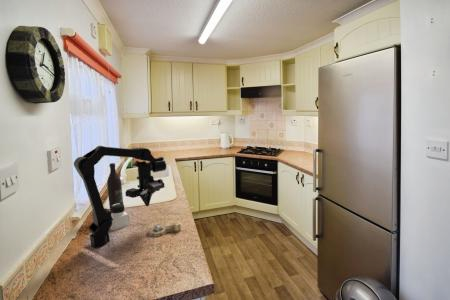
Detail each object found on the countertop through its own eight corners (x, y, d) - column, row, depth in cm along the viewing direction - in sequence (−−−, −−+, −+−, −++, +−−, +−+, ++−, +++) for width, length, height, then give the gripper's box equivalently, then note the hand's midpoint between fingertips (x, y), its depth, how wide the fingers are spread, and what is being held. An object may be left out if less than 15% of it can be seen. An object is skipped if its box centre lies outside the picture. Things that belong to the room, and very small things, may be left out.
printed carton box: (130, 227, 131) (127, 204, 129) (116, 232, 126) (113, 208, 124) (123, 223, 136) (121, 201, 134) (109, 228, 131) (107, 205, 129)
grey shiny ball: (157, 234, 119) (157, 228, 119) (153, 232, 121) (153, 226, 121) (162, 231, 122) (161, 225, 121) (158, 230, 123) (157, 224, 123)
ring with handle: (147, 237, 116) (146, 231, 116) (149, 229, 125) (148, 223, 124) (181, 233, 119) (180, 227, 119) (180, 225, 127) (180, 219, 127)
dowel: (176, 233, 120) (176, 226, 119) (174, 232, 121) (173, 225, 120) (179, 231, 121) (178, 224, 121) (176, 231, 122) (176, 224, 122)
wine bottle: (118, 219, 141) (112, 165, 136) (107, 218, 143) (102, 164, 139) (127, 215, 147) (122, 162, 143) (117, 213, 150) (111, 162, 145)
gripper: (139, 181, 111) (142, 216, 113) (171, 171, 126) (173, 202, 129) (123, 178, 117) (126, 211, 120) (155, 169, 133) (158, 199, 135)
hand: (147, 206), depth 126 cm, fingers closed
